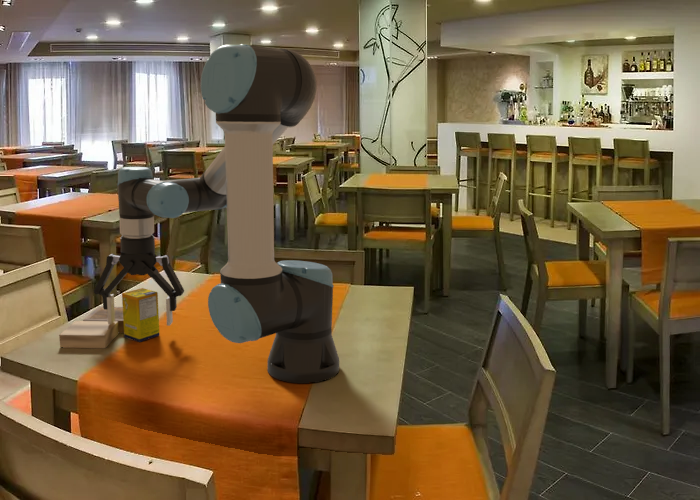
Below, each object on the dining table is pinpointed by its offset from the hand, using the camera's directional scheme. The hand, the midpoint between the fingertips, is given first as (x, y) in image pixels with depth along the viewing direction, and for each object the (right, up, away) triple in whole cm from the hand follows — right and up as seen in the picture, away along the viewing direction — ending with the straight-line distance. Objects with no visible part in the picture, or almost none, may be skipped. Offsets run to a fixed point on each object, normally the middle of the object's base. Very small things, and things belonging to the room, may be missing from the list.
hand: (140, 323), depth 159 cm
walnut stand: (-9, -1, +8) cm, 12 cm away
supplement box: (0, -3, +1) cm, 4 cm away
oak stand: (-11, -4, -3) cm, 12 cm away
